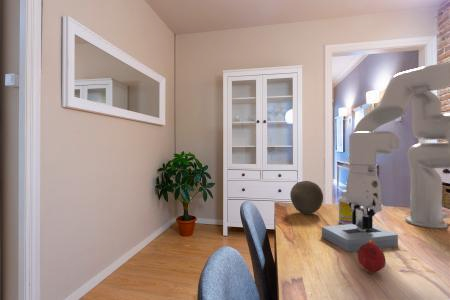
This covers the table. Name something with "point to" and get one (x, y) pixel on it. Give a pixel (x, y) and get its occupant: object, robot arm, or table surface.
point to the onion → (371, 257)
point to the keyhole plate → (358, 236)
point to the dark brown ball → (306, 197)
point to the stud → (360, 219)
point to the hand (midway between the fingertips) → (362, 225)
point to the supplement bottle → (344, 210)
